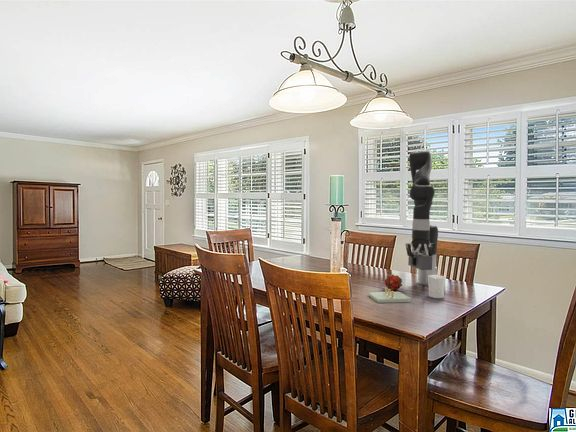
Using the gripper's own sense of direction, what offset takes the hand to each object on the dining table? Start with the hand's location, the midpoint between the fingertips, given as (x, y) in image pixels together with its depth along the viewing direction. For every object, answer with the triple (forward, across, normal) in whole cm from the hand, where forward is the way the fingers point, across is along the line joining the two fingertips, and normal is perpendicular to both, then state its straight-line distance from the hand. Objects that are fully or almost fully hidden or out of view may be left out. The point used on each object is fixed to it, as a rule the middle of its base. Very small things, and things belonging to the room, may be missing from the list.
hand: (419, 265), depth 167 cm
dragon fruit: (+18, +2, -22) cm, 29 cm away
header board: (+17, +11, -8) cm, 22 cm away
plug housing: (+1, 0, 0) cm, 1 cm away
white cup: (+18, -14, -8) cm, 24 cm away
